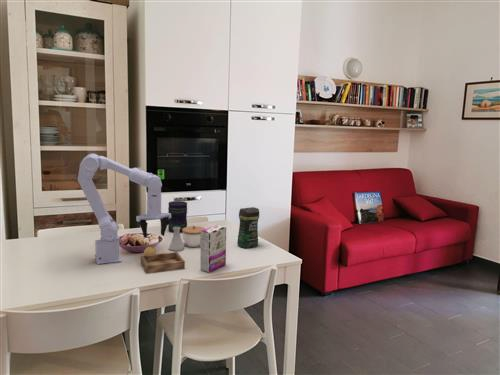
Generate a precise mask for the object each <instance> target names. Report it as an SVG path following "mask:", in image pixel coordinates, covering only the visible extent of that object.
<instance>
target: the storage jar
mask: <svg viewBox="0 0 500 375" xmlns="http://www.w3.org/2000/svg"><path fill="white" fill-rule="evenodd" d="M167 210H168V212H167V213H171V218H169V219H170V222H169V224H168V225H167V228H168V232H169V233H173V234H174V230H173V228H174V227H180V234H183V232H182V229H183V228H185V227H188V220H187V219H188V218H187V216H188V215H187V214H188V202H186V201H183V200H182V201H181V200H174V201H173V200H172V201H169V202H168V208H167Z"/></svg>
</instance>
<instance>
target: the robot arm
mask: <svg viewBox="0 0 500 375" xmlns="http://www.w3.org/2000/svg"><path fill="white" fill-rule="evenodd" d="M78 169H79V170H78V176H77V181H78V182H77V183H78V184H79V186H80V187H81V190H82V192H83V194H84V196H85V198H86V199H87V202H88V203H89V205H90V208H91V210H92V212H93V214H94V216H95V217H96V219H97V223H98V227H99V229H100V236H101V237H100V238H99V239H96V240H94V241H95V242H94V243H95V244H94V246H95V254H94V257H95V260H96V265H100V264H112V263H118V262H121V263H122V258H121V257H122V256H121V255H120V254H121V253H120V236H119V235H118V231H119V228H120V227H119V224H118V222H116V221H115V220H114V218H112V215H110V213H109V211H108V209H107V207H106V205H105V203H104V201H103V199H102V198H101V194H100V193H99V191H98V189H97V187H96V185H95V183H94V180H93V177H94V176H95V173H96V172H97V170H98V169H100V171H101V170H102V171H103V170H107V169H108V170H112V171H114V172H116V173H118V174H121V175H125V176H127V177H128V180H129V181H131V182H133V183H136V184H138V185H140V186H142V187H147V193H146V197H147V199H146V214H141V215H136V216H135V217H136V218H135V219H136V220H135V221H136V222H137V223H138V225H139V226H140V229H141V232H142V234H143V235H142V236H143V238H145V239H147V238H148V232H147V231H148V226H149V225H148V224H149V223H148V222H147V221H153V220H160V235H161V236H163V237H164V236H165V234H166V230H167V228H168V224H169V222H170V219H169V218H171V213H168V212H162V193H161V192H162V187H163V183H162V180H161V178H160V177H159V176H158V175H157V174H153V173H152V172H147V171H145V170H143V168H141V167H132V168H130V167H129V166H126V165H123V164H122V163H119V162H117V161H115V160H113V159H111V158H109V157H106V156H104V155H99V154H97V153H89V154H87V155H86V156H85V157H83V159H82V160H81V162H80V163H79V168H78Z"/></svg>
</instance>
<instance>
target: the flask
mask: <svg viewBox="0 0 500 375" xmlns="http://www.w3.org/2000/svg"><path fill="white" fill-rule="evenodd" d="M173 230H174V233H173V236H172V238H171V242H170V244H169V246H168V251H173V252H181V251H183V250H185V245H184V242H183V238H182V236H181V233H180V227H174V228H173Z"/></svg>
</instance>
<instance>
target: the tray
mask: <svg viewBox="0 0 500 375" xmlns="http://www.w3.org/2000/svg"><path fill="white" fill-rule="evenodd" d="M185 262H186V261H185V260H184V259H183V257H182V256H181V254H179V251H173V252H163V253H156V254H153V255H144V254H143V255H140V265H141V266H142V267H143V270H144V272H145V274H152V273H153V274H154V273H160V272H161V273H162V272H169V271H176V270H177V271H178V270H185V266H186V265H185V264H186V263H185Z"/></svg>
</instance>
